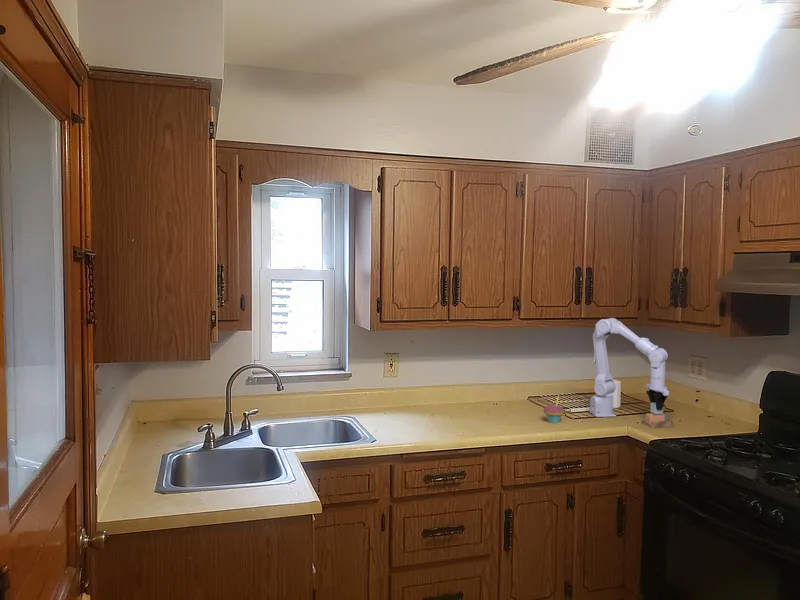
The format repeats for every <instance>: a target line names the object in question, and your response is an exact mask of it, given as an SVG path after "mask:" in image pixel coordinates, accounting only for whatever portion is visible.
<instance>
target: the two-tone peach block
mask: <svg viewBox="0 0 800 600" xmlns="http://www.w3.org/2000/svg"><path fill="white" fill-rule="evenodd" d="M645 418H646V422H647V423H649V424H652V422H661V421H668V420H669V414H666V413H664V412H663V414H654V413H652V412H650V413H645Z"/></svg>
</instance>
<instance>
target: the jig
mask: <svg viewBox="0 0 800 600" xmlns="http://www.w3.org/2000/svg"><path fill="white" fill-rule="evenodd" d="M641 424H642V425H644V426H647V427H649V428H651V429H659V428H660V429H661V428H663V429H664V428H674V427H675V425H674V421H673V420H670V419H668V421H661V422H652V424H649V423H647V422H646V417H644V419H643V420H641Z"/></svg>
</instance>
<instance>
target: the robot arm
mask: <svg viewBox="0 0 800 600" xmlns="http://www.w3.org/2000/svg"><path fill="white" fill-rule="evenodd" d="M612 334H617V335H618V334H619V335H621V336H622V337H624V338H626V339H627V340H629V341H630V342H632V343H633V344H634V346H635V349H637V351H639V352H641V353H642V354H643V355H644V356H646V357H647V358H648V360H649V361H650V369H649V370H650V375H649V383H646V385H645V388H646V389H648V390H646V394H647V396H648V399H649V402H650V404H651V403H656V409H657V410H662V408H663V409H664V405H665V402H666V400H667V398H668V397H669V395H670V391H669V390H668V387H667V386H666V384H665V383H666V360H667V359H668V357H669V356H668V352H667V350H665V349H664V348H662V347H659V345H656V344H654V343H652V342H651V341H650V339H649V338H648V337H639V336H638V335H637V334H635V333H634V332H633V331H632V330H631V329H629V328H628V327H627V326H626V325H625V324H623V322H622V321H620V320H618V319H617V318H615V317H609V318H602V319H599V321H597V322H596V323H595V328H594V332H593V334H592V343H593V350H594V358H595V367H596V369H595V370H596V377H595V379H594V385H593V391H594V393H595V395H591V396H590V400H589V412H590V413H589V414H591V413H592V414H593V415H592V414H591V415H592V416H594V417H595V418H601V417H602V418H607V417H617V415H616V414H615V413H614V411H613V410H614V408H613V392H614V391H615V389H616V385H615V383H614V381H613V380H614V377H613V376H612V374H611V373H610V367H609V358H608V349H607V342H606V340H607V338H609V336H610V335H612Z"/></svg>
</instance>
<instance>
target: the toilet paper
mask: <svg viewBox="0 0 800 600" xmlns="http://www.w3.org/2000/svg"><path fill="white" fill-rule="evenodd" d="M613 381H614V383H615V385H616V389H615V391H614V392H613V409H618V408H620V407H621V394H622V393H621V391H622V390H621V385H622V382H621V380H617V379H613Z"/></svg>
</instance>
